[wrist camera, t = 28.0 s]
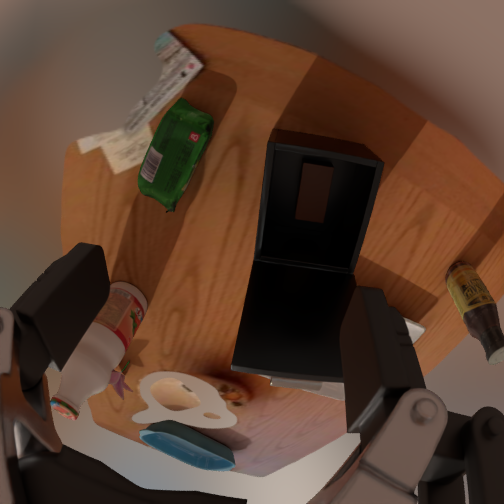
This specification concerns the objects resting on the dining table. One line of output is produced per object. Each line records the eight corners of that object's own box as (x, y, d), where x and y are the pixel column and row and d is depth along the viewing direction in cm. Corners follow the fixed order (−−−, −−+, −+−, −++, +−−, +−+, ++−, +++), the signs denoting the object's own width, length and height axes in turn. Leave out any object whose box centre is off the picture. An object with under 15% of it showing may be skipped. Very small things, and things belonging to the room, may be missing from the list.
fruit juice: (123, 272, 54) (45, 388, 30) (157, 305, 57) (98, 427, 34) (101, 292, 58) (32, 396, 34) (132, 321, 61) (77, 430, 38)
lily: (100, 340, 69) (82, 369, 64) (128, 359, 63) (108, 392, 59) (126, 359, 78) (109, 386, 73) (154, 376, 72) (136, 406, 67)
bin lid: (230, 364, 24) (228, 395, 27) (375, 379, 23) (354, 408, 26) (253, 259, 37) (249, 293, 40) (354, 274, 36) (342, 306, 39)
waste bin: (272, 128, 38) (267, 141, 30) (364, 144, 38) (384, 162, 29) (261, 225, 46) (253, 260, 38) (342, 237, 45) (352, 274, 37)
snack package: (141, 185, 45) (126, 198, 40) (181, 94, 37) (167, 97, 32) (180, 206, 46) (168, 221, 42) (226, 116, 38) (217, 121, 34)
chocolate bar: (302, 158, 39) (303, 162, 37) (331, 162, 39) (334, 167, 37) (294, 211, 43) (294, 219, 41) (321, 215, 43) (323, 223, 41)
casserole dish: (134, 420, 91) (127, 435, 85) (164, 408, 81) (157, 427, 75) (211, 459, 102) (208, 473, 96) (250, 451, 92) (247, 468, 86)
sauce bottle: (474, 257, 44) (526, 335, 27) (467, 285, 47) (510, 363, 30) (444, 261, 45) (493, 345, 28) (439, 289, 48) (478, 373, 31)
